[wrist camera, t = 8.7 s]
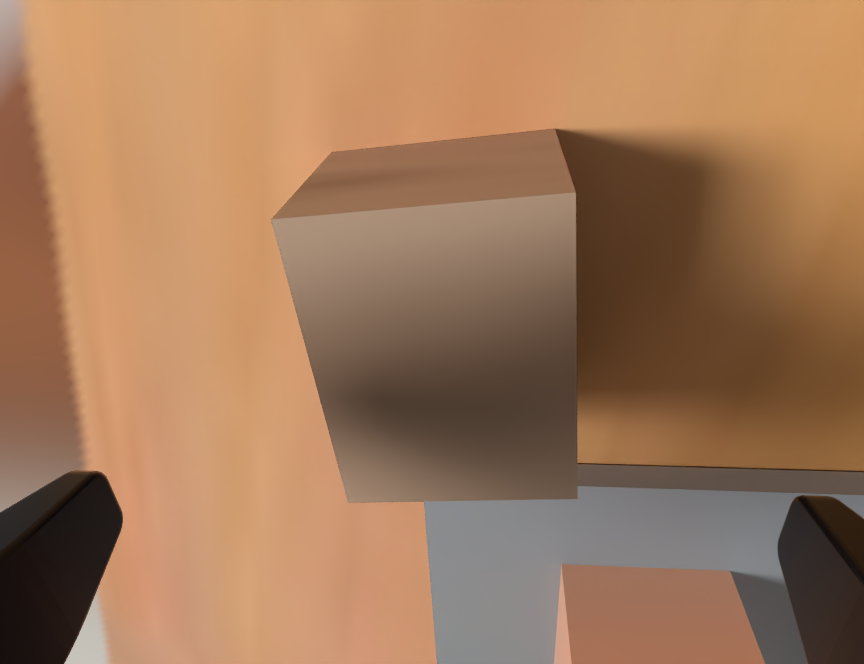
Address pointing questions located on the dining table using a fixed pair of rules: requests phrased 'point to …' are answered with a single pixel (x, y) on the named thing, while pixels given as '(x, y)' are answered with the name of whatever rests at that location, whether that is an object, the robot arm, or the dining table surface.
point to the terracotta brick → (651, 617)
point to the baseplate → (614, 551)
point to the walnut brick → (441, 316)
